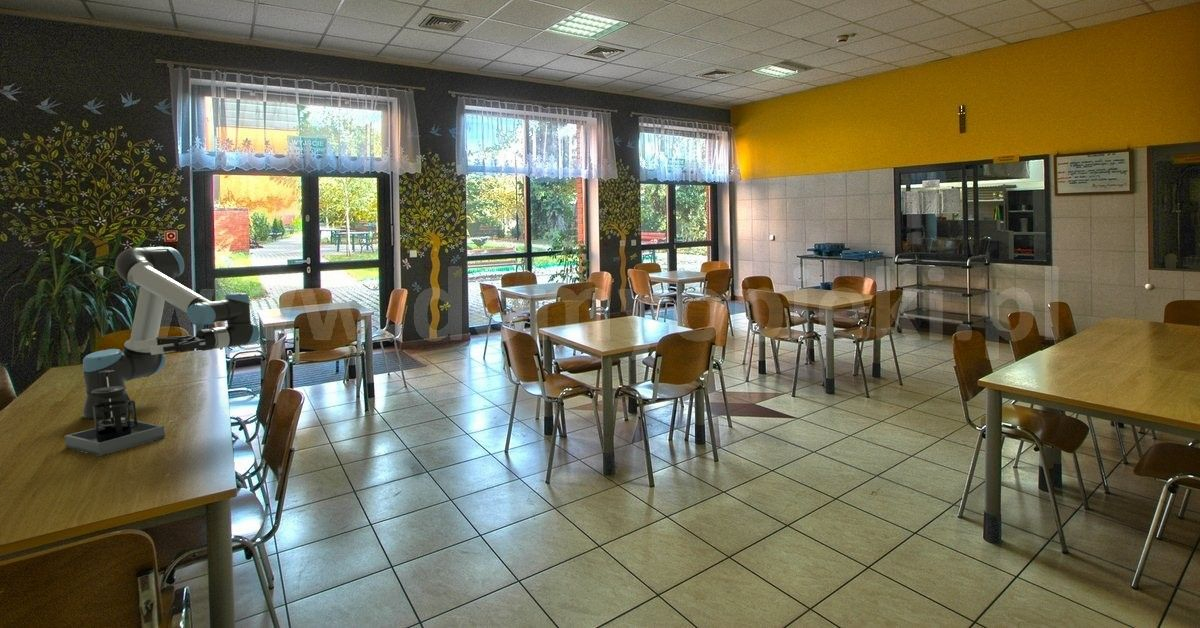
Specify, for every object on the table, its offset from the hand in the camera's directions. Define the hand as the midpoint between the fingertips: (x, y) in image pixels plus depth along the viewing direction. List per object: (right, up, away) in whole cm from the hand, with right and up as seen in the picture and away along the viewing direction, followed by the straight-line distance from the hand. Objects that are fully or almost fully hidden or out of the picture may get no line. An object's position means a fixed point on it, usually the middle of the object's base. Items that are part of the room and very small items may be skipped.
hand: (142, 348), depth 209 cm
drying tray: (-6, -30, -4) cm, 31 cm away
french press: (-6, -30, -4) cm, 30 cm away
